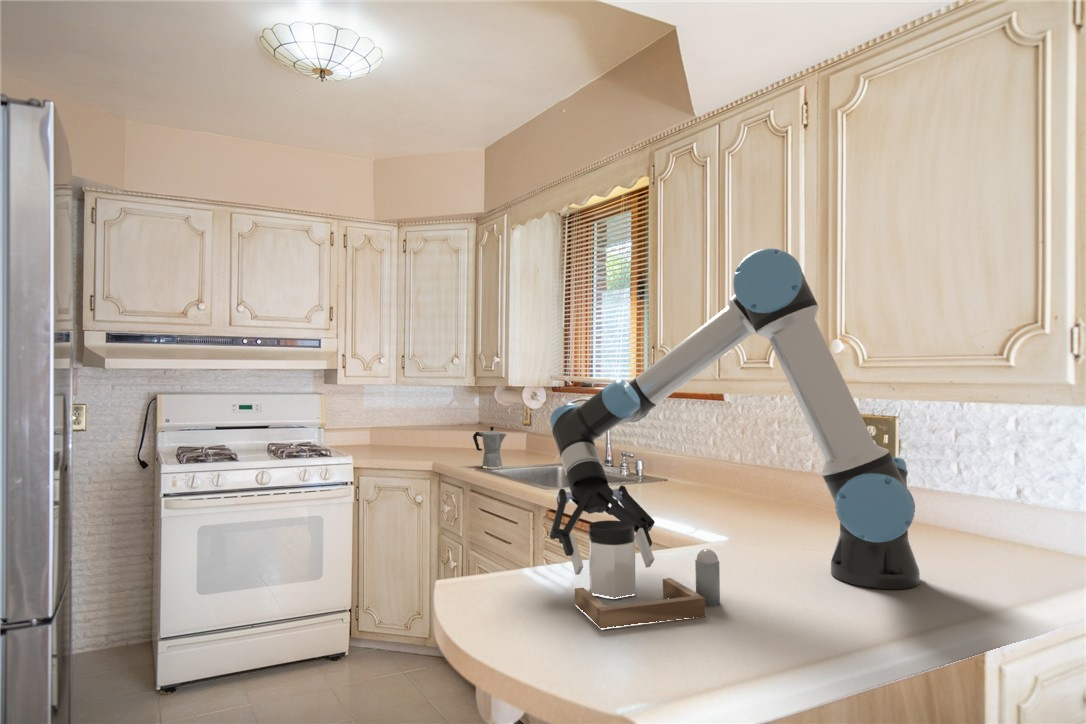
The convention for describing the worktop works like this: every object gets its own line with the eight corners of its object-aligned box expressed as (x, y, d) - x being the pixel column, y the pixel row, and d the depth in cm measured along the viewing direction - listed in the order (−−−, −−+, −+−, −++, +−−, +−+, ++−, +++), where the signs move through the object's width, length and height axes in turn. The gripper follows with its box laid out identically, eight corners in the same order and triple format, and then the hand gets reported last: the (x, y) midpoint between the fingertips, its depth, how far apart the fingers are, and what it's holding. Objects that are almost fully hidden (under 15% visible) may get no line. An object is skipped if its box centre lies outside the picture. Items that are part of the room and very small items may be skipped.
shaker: (724, 602, 114) (723, 549, 114) (711, 608, 111) (710, 553, 112) (704, 597, 117) (703, 545, 117) (691, 602, 114) (690, 549, 114)
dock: (574, 606, 113) (574, 588, 113) (670, 595, 118) (670, 577, 118) (601, 630, 102) (601, 610, 102) (705, 616, 107) (705, 598, 107)
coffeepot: (510, 467, 294) (509, 425, 294) (503, 469, 285) (502, 427, 285) (477, 466, 298) (476, 425, 298) (469, 468, 289) (469, 427, 289)
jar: (587, 584, 125) (587, 519, 125) (631, 584, 125) (631, 519, 125) (590, 600, 116) (590, 530, 116) (638, 600, 116) (637, 530, 116)
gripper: (635, 479, 139) (671, 571, 125) (520, 485, 132) (543, 584, 117) (646, 456, 134) (685, 549, 120) (527, 461, 127) (553, 562, 112)
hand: (615, 567), depth 118 cm, fingers open, 13 cm apart
